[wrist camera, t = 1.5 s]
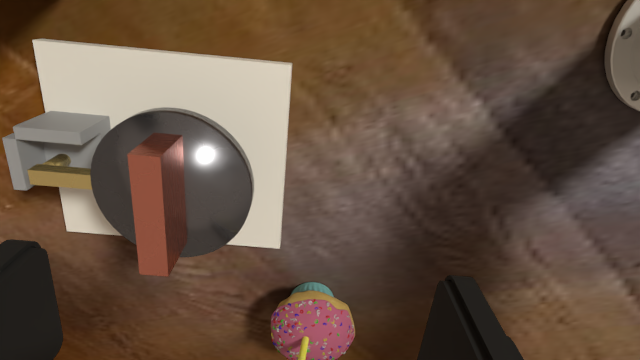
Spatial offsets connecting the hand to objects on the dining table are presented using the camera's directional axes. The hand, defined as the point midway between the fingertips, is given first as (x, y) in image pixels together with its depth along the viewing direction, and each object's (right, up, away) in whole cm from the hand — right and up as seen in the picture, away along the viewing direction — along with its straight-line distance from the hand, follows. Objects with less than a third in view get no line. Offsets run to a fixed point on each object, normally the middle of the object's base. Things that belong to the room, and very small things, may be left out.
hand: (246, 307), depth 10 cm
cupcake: (+1, -10, +36) cm, 37 cm away
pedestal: (-12, +6, +28) cm, 31 cm away
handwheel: (-12, +4, +25) cm, 28 cm away
